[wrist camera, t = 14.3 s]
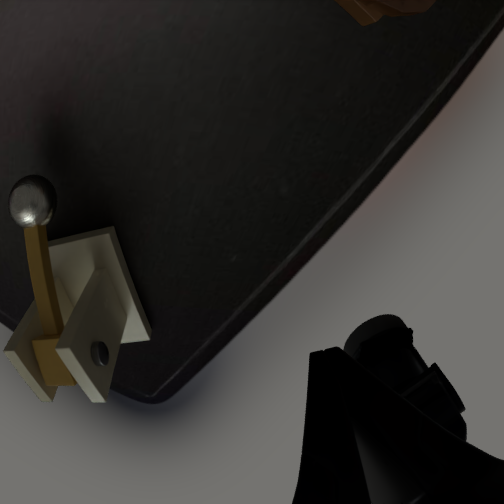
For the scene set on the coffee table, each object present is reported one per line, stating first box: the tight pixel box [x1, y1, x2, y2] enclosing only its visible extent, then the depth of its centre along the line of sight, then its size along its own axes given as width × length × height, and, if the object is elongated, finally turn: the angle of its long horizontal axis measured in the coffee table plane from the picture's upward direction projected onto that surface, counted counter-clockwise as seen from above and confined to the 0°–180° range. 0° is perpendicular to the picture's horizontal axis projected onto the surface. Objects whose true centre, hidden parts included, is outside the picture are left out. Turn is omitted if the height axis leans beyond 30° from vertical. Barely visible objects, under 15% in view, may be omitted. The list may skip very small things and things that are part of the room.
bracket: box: [3, 226, 152, 402], centre depth 17 cm, size 9×7×9 cm
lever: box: [8, 175, 77, 386], centre depth 15 cm, size 12×3×3 cm, turn 7°
